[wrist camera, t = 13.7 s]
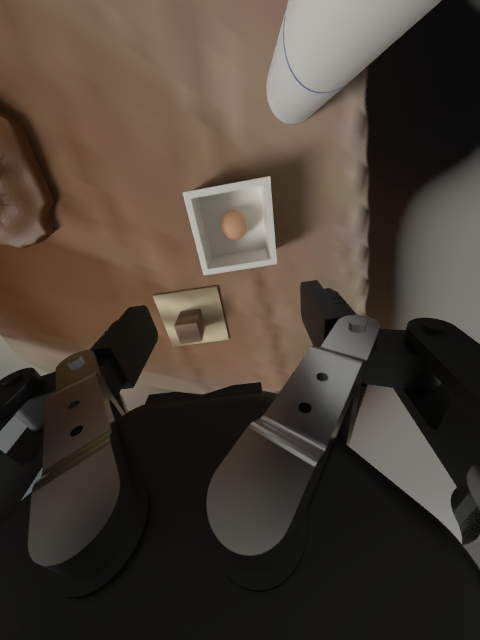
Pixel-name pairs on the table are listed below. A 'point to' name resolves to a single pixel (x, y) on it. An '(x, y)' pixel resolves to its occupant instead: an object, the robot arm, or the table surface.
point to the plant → (21, 189)
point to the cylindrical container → (331, 48)
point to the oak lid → (192, 316)
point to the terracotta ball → (234, 224)
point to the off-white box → (206, 225)
